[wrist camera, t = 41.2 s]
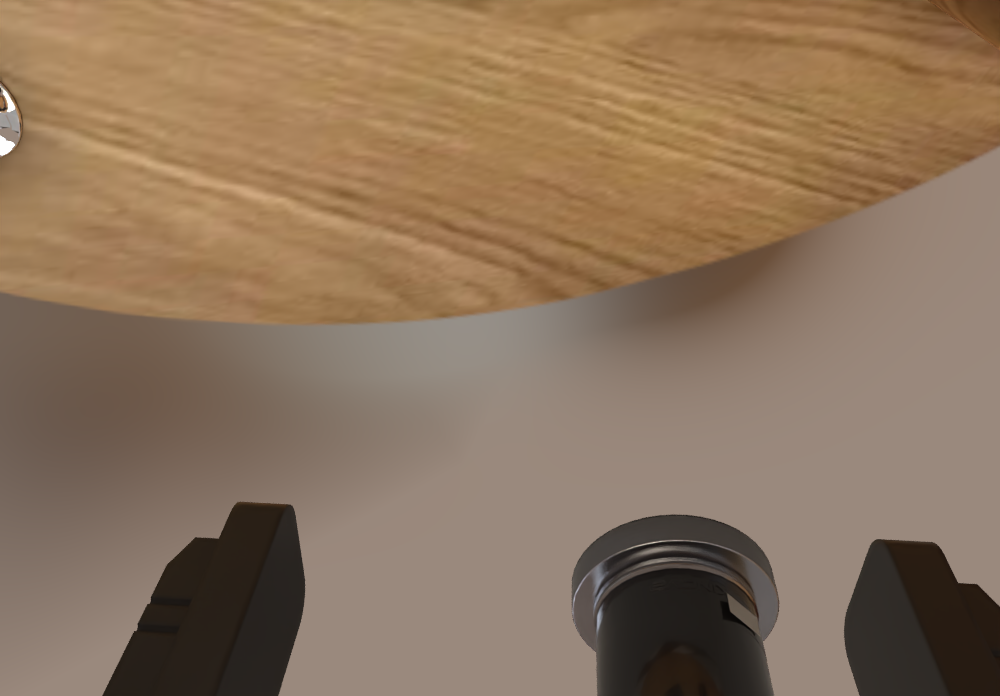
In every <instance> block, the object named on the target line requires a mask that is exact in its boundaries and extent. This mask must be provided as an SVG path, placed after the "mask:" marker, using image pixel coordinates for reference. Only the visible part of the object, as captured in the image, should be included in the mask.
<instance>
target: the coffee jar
mask: <svg viewBox="0 0 1000 696" xmlns="http://www.w3.org/2000/svg"><path fill="white" fill-rule="evenodd" d="M928 1H929V2H931V3H932V4H934V5H935V6H937V7H938V8H939V9H941V10H942V11H944V12H945V13H947V14H948V15H950V16H951V17H952V18H954V19H955V20H957V21H958V22H960V23H961V24H962V25H964V26H965V27H967V28H968V29H970V30H971V31H972V32H974V33H975V34H977V35H978V36H980V37H981V38H983V39H984V40H985V41H987V42H988V43H990V44H991V45H993V46H994V47H995V48H997V49H998V50H1000V0H928Z"/></svg>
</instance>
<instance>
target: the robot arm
mask: <svg viewBox="0 0 1000 696" xmlns="http://www.w3.org/2000/svg"><path fill="white" fill-rule="evenodd" d="M304 598H305V578H304V570H303V563H302V557H301V550H300V543H299V536H298V530H297V523H296V516H295V511H294V508H293V506H291V505H288V504H270V503H252V502H251V503H250V502H238V503H236V505H234V507H233V508H232V511H231V512H230V515H229V517H228V519H227V521H226V524H225V526H224V528H223V531H222V533H221V535H220V537H219V539H214V538H197V537H196V538H195V539H193V540H192V541H191V543H189V544H188V545H187V546H186V547H185V548H184V549H183V550H182V551H181V552H180V553H179V554H178V555H177V556H176V557H175V558H174V559H173V560H172V561H170V562H169V563H168V564H167V566H166V568H165V570H164V572H163V574H162V576H161V578H160V580H159V582H158V584H157V586H156V588H155V590H154V593H153V594H152V596H151V602H150V604H147V607H146V608H145V610H144V613H143V614H142V616H141V618H140V621H139V623H138V629H137V631H134V633H133V635H132V637H131V639H130V641H129V643H128V645H127V647H126V649H125V651H124V653H123V655H122V657H121V659H120V661H119V663H118V665H117V667H116V669H115V671H114V673H113V675H112V677H111V680H110V681H109V684H108V685H107V687H106V690H105V691H104V694H103V696H278V694H279V692H280V688H281V685H282V681H283V678H284V675H285V672H286V668H287V665H288V662H289V658H290V655H291V652H292V649H293V645H294V642H295V639H296V636H297V632H298V629H299V626H300V622H301V618H302V613H303V607H304ZM594 628H595V632H596V657H597V696H774V693H773V688H772V683H771V678H770V674H769V669H768V665H767V659H766V654H765V649H764V645H763V640H762V636H761V631H760V626H759V613H758V609H757V604H756V600H755V597H754V594H753V592H752V590H751V588H750V587H749V586H748V584H747V583H746V582H745V581H744V580H743V579H742V578H741V577H740V576H738V575H737V574H736V573H734V572H733V571H731V570H729V569H727V568H725V567H723V566H721V565H719V564H716V563H713V562H710V561H706V560H701V559H696V558H688V557H668V558H659V559H653V560H649V561H645V562H642V563H638V564H636V565H633V566H631V567H629V568H627V569H625V570H623V571H621V572H619V573H618V574H616V575H615V576H614V577H612V578H611V579H610V580H609V581H608V582H607V583H606V584H605V585H604V586H603V588H602V589H601V590H600V592H599V594H598V595H597V598H596V600H595V604H594ZM844 638H845V647H846V653H847V657H848V660H849V664H850V667H851V670H852V673H853V676H854V679H855V683H856V686H857V689H858V692H859V695H860V696H1000V607H999V606H998V605H997V604H996V603H995V602H994V601H993V600H992V599H991V598H990V597H989V596H988V595H987V594H986V593H985V592H984V591H983V590H982V589H981V588H980V587H979V586H978V585H977V584H963V583H958V582H957V580H956V578H955V576H954V574H953V572H952V570H951V568H950V566H949V564H948V562H947V559H946V557H945V555H944V553H943V552H942V550H941V549H940V547H939V546H938V545H937V544H935V543H933V542H918V541H917V542H915V541H899V540H881V539H877V540H875V541H874V542H873V543H872V544H871V545H870V548H869V550H868V553H867V556H866V558H865V561H864V564H863V567H862V570H861V573H860V575H859V578H858V581H857V584H856V587H855V589H854V593H853V595H852V598H851V601H850V603H849V606H848V609H847V612H846V617H845V626H844Z"/></svg>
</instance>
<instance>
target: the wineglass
mask: <svg viewBox="0 0 1000 696" xmlns="http://www.w3.org/2000/svg"><path fill="white" fill-rule="evenodd" d="M21 134H22V120H21V115H20V111H19V109H18V106H17V104H16V102H15V100H14V98H13V97H12V95H11V94H10V92H9V91H8V90H7V89H6V87H5V86H4V85H3V84H2V83H1V82H0V158H1V157H4V156H6V155H8V154H10V153H11V152H12V151H13V150H14V149H15V148H16V147H17V145H18V143H19V141H20V139H21Z"/></svg>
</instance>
